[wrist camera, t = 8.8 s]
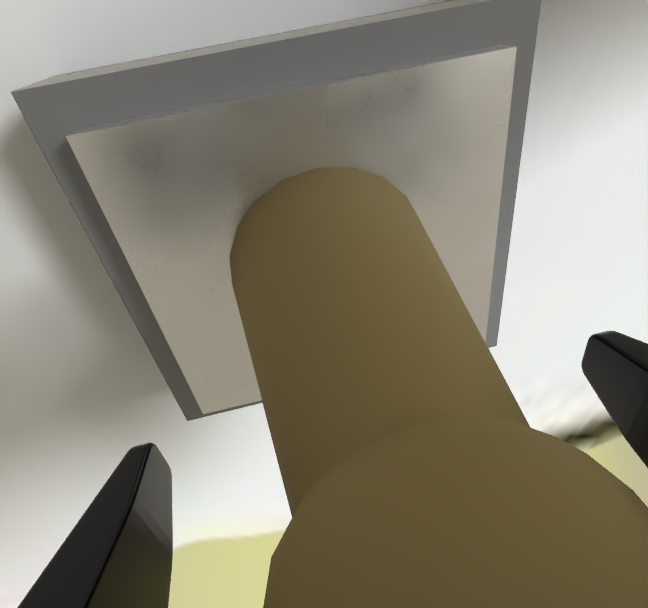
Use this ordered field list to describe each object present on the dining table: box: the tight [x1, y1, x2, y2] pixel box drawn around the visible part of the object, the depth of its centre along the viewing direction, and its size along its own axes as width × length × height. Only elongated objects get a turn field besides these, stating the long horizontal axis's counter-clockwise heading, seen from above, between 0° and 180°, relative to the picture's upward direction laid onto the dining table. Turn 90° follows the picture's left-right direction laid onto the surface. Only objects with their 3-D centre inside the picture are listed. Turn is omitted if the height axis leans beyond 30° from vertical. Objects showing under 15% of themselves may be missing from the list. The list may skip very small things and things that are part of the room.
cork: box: [229, 167, 648, 608], centre depth 8 cm, size 6×6×11 cm
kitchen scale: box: [11, 0, 541, 421], centre depth 15 cm, size 13×12×4 cm
